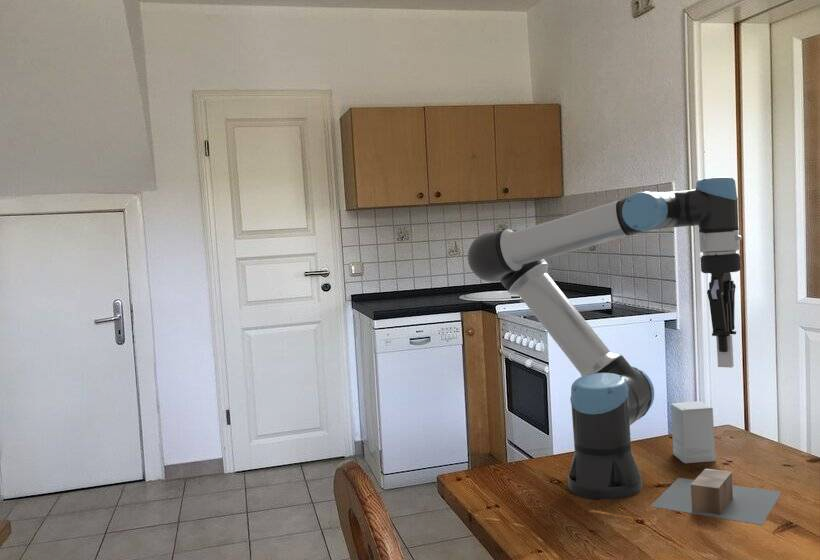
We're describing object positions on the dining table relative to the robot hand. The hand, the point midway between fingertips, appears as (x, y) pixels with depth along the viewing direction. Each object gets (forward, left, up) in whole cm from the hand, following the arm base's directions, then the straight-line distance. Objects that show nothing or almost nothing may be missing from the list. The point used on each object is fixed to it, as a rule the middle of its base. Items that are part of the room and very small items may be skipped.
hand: (725, 366), depth 149 cm
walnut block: (0, -10, -22) cm, 24 cm away
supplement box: (-11, +12, -25) cm, 30 cm away
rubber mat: (0, -12, -24) cm, 27 cm away
